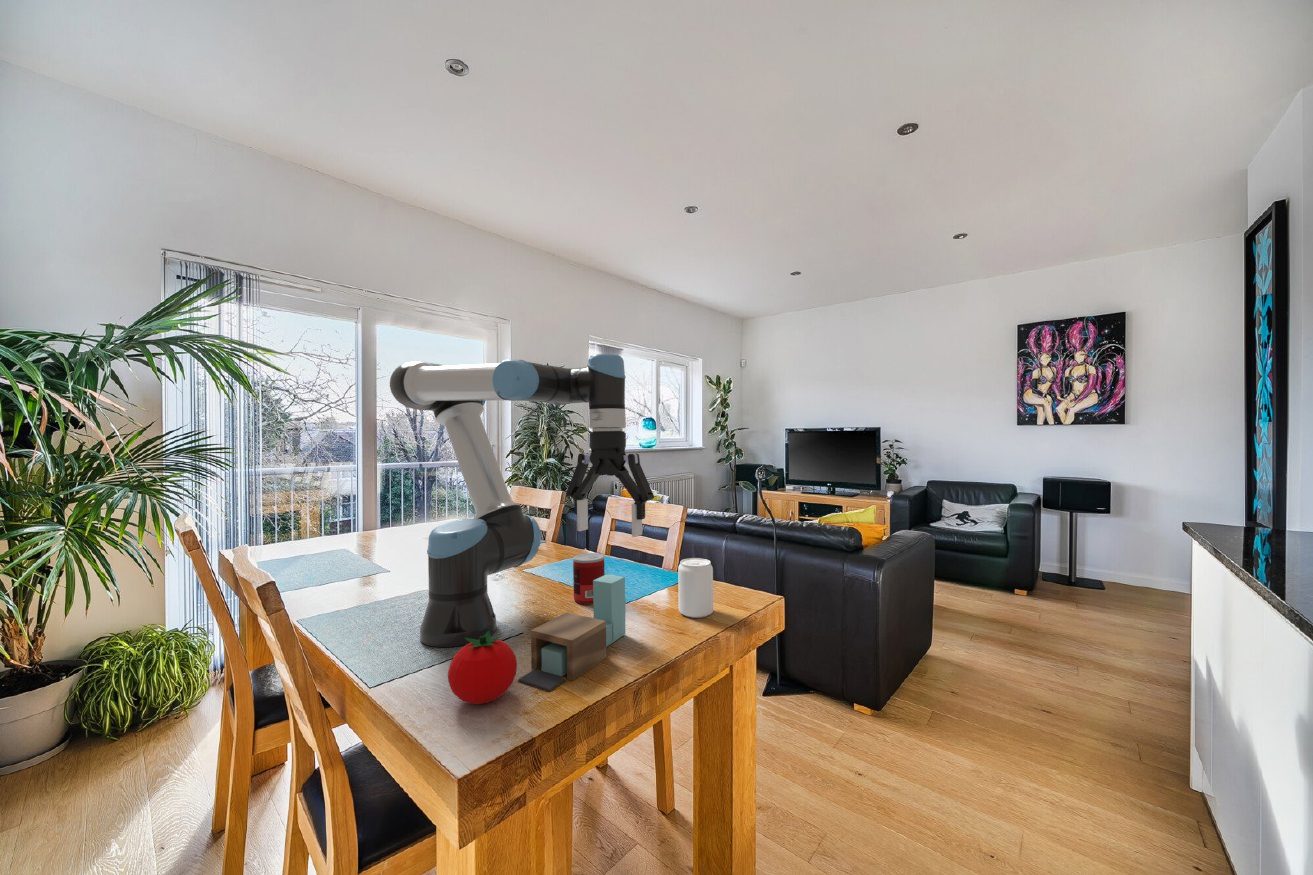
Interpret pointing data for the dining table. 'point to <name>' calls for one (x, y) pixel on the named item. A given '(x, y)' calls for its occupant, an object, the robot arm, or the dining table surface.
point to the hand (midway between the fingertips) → (609, 532)
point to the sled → (605, 608)
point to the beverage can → (695, 587)
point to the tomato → (482, 670)
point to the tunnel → (571, 642)
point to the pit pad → (541, 680)
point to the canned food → (586, 575)
